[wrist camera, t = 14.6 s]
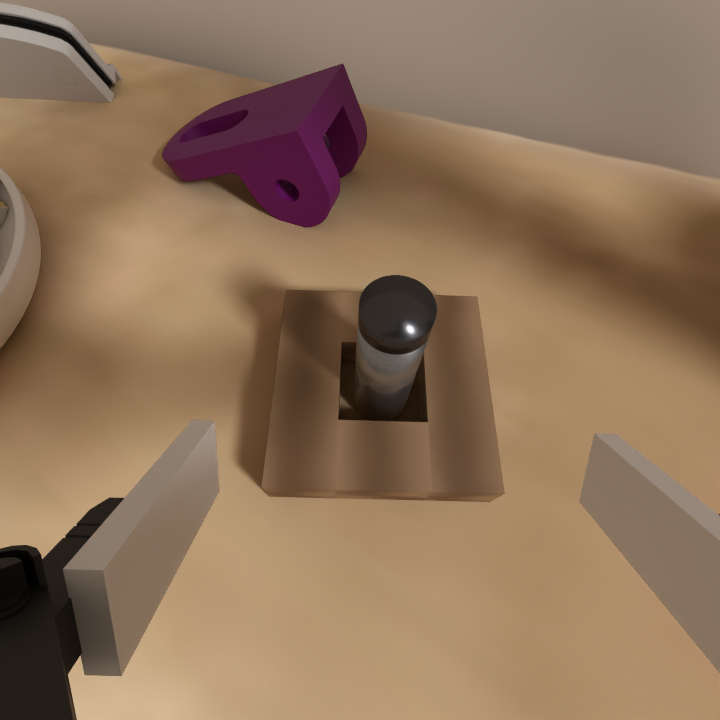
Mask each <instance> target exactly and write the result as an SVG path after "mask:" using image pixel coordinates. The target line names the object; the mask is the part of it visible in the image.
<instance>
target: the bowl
mask: <svg viewBox="0 0 720 720" xmlns="http://www.w3.org/2000/svg"><path fill="white" fill-rule="evenodd" d="M40 263H41V242H40V235H39V230H38V226H37V222H36V219H35V216H34V214H33V211H32V209H31V207H30V205H29V203H28V201H27V200H26V198H25V196H24V195H23V193H22V192H21V191H20V189H19V188H18V187H17V185H16V184H15V183H14V182H13V180H12V179H11V178H10V177H9V176H8V174H7V173H6V172H5V171H4V170H3V169H2V168H0V349H1V347H2V346H3V345H4V344H5V342H6V341H7V340H8V338H9V337H10V336H11V334H12V333H13V331H14V330H15V328H16V327H17V325H18V324H19V322H20V320H21V318H22V317H23V315H24V313H25V311H26V309H27V307H28V305H29V303H30V300H31V298H32V295H33V293H34V290H35V287H36V284H37V279H38V275H39V270H40Z"/></svg>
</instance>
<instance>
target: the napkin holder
mask: <svg viewBox="0 0 720 720" xmlns="http://www.w3.org/2000/svg"><path fill="white" fill-rule="evenodd" d="M121 78H122V77H121V75H120V74H119V72H118V71H117V69H116V68H115V66H114V65H112V64H106V63H105V62H104V61H103V60H102V59H101V57H100V56H99V55H98V54H97V53H96V51H95V50H94V49H93V48H92V47H91V45H90V44H89V43H88V42H87V41H86V40H85V38H84V37H83V36H82V35H81V34H80V32H79V31H78V30H77V29H76V28H75V26H74V25H72V23H70V22H69V21H67V20H66V19H64V18H61V17H59V16H55V15H52V14H48V13H45V12H42V11H38V10H35V9H30V8H27V7H22V6H17V5H12V4H6V3H0V97H1V98H23V99H44V100H66V101H88V102H111V101H112V100H113V98H114V95H115V94H114V93H113V92H112V91H111V88H110V87H109V86H108V85H112V84H116V79H117V80H121Z"/></svg>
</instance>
